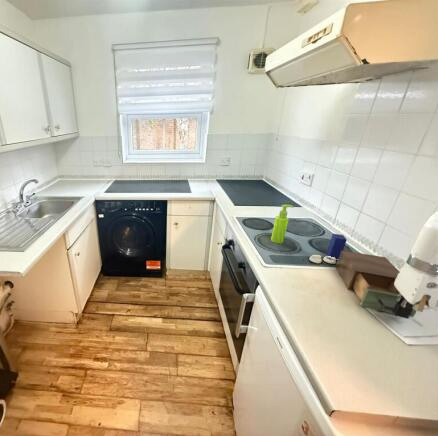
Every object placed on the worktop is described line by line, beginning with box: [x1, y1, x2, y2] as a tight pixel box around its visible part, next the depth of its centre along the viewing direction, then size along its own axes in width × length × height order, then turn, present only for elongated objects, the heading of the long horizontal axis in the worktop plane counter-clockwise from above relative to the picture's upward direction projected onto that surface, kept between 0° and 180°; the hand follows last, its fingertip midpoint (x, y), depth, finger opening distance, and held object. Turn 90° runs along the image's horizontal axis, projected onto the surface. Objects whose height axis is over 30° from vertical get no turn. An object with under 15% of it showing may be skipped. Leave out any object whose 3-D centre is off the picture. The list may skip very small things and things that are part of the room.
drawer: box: [352, 273, 417, 319], centre depth 81 cm, size 19×13×7 cm
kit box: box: [325, 233, 348, 259], centre depth 108 cm, size 4×5×11 cm
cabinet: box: [334, 250, 400, 292], centre depth 92 cm, size 16×15×9 cm
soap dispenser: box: [270, 204, 294, 244], centre depth 122 cm, size 6×7×20 cm
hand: (399, 315), depth 72 cm, fingers closed
